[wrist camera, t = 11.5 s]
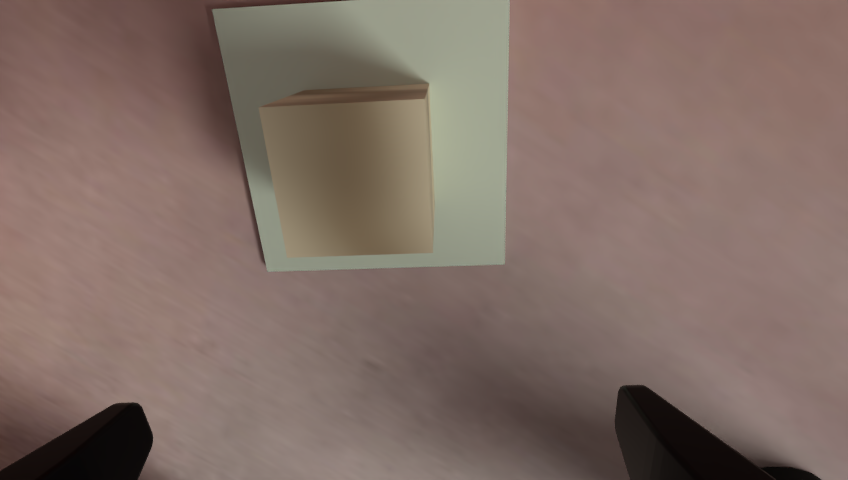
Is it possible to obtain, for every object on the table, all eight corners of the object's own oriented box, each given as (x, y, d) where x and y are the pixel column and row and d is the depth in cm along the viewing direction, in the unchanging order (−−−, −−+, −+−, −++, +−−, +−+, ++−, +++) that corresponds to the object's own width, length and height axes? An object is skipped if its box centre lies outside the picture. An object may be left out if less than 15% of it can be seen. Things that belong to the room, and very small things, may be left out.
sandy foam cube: (321, 208, 18) (287, 257, 14) (304, 90, 17) (258, 107, 12) (434, 204, 18) (432, 252, 14) (429, 83, 16) (425, 98, 12)
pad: (270, 267, 20) (267, 271, 20) (217, 9, 16) (211, 9, 16) (503, 260, 19) (504, 264, 19) (508, -9, 15) (509, -10, 15)
